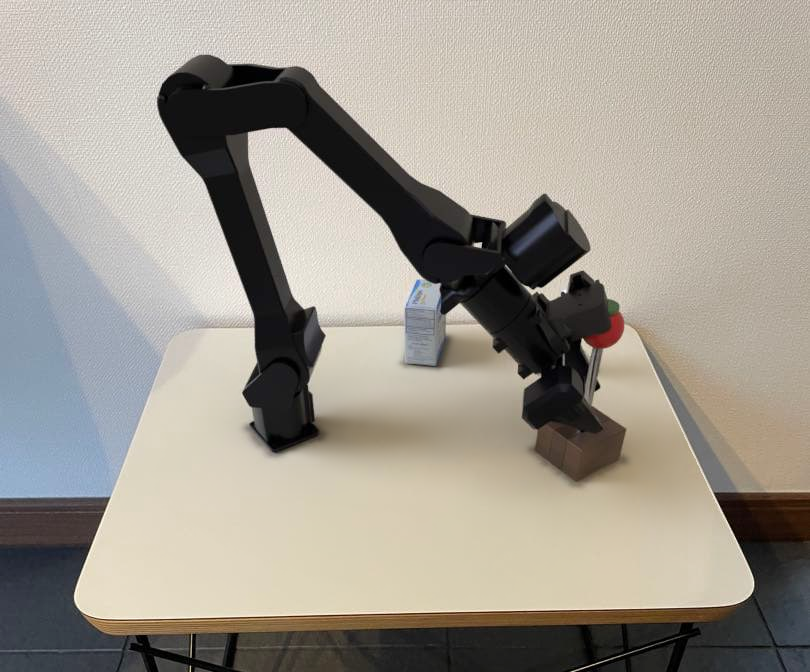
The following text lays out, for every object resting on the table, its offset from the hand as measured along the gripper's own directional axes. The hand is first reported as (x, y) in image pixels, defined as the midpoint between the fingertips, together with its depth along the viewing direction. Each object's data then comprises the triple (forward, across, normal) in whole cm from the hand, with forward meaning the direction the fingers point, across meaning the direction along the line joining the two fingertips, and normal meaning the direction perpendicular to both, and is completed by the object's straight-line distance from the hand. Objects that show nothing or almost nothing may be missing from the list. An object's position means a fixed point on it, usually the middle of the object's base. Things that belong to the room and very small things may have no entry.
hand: (598, 409), depth 85 cm
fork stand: (+4, 0, +6) cm, 7 cm away
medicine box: (-11, +20, +20) cm, 31 cm away
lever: (+4, 0, +6) cm, 7 cm away
